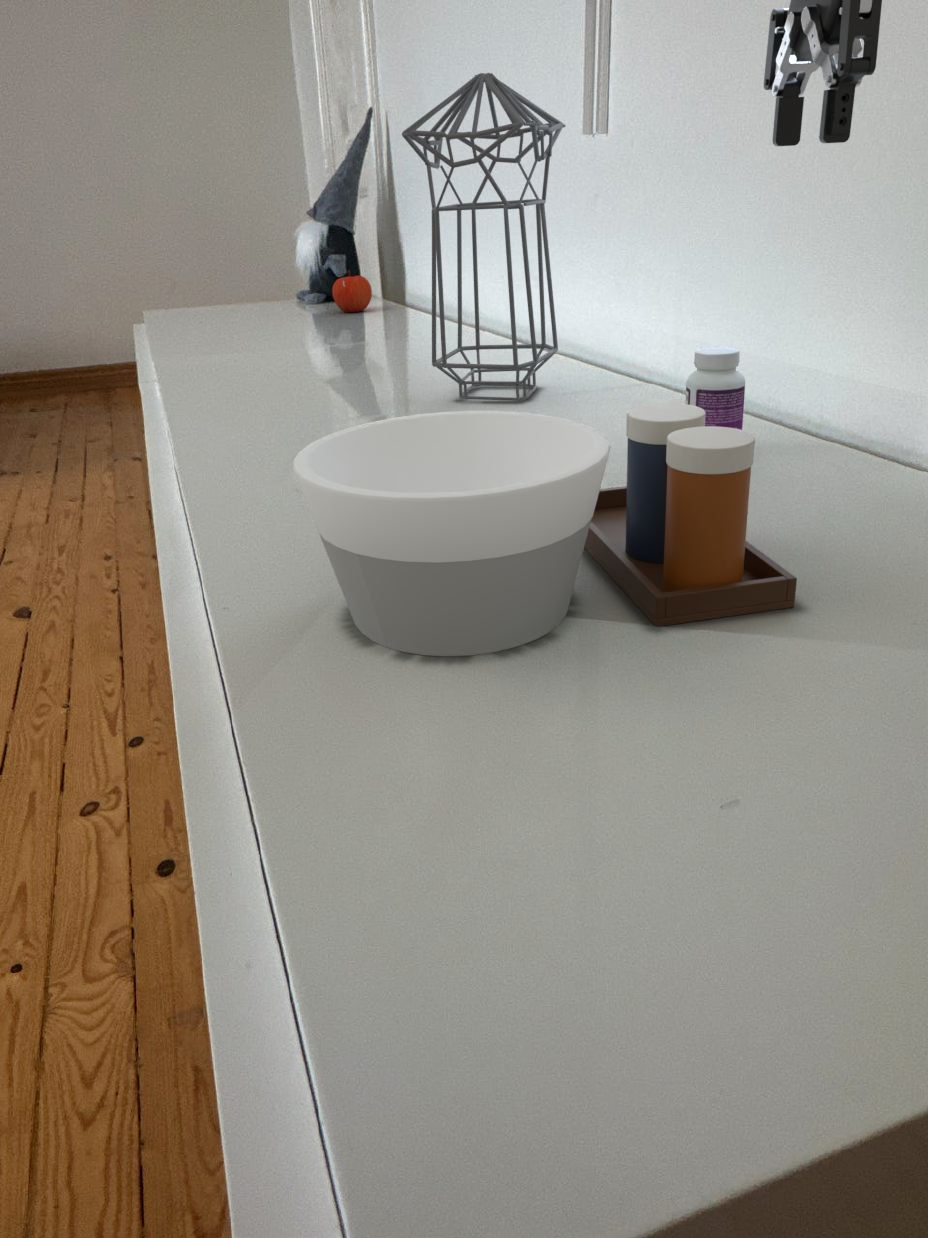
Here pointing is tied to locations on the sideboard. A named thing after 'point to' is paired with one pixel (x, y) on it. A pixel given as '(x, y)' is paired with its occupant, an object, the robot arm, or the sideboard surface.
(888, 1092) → the sideboard surface
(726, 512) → the amber bottle
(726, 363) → the pill bottle
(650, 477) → the slate bottle
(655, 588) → the tray
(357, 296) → the apple
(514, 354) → the geometric lantern
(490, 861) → the sideboard surface
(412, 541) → the bowl
